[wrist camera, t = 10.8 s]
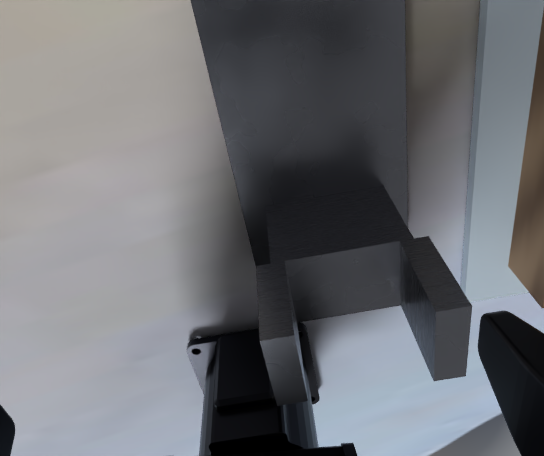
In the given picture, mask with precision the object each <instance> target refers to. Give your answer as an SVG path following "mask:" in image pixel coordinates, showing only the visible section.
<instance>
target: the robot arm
mask: <svg viewBox="0 0 544 456" xmlns="http://www.w3.org/2000/svg"><path fill="white" fill-rule="evenodd" d="M297 327H298V331H300V332H298V334H299V341H300V348H301V355H302V362H303V369H304V376H305V383H306V390H307V397H308V401H306V402H299V403H293V404H287V405H280V406H277V403H276V400H275V396H274V392H273V389H272V385H271V381H270V378H269V374H268V370H267V366H266V363H265V359H264V355H263V352H262V348H261V344H260V337H259V329H254V330H248V331H242V332H236V333H230V334H224V335H218V336H212V337H206V338H200V339H194V340H191V341H190V342H189V343H188V346H187V354H188V356H189V359H190V361H191V364H192V366H193V369H194V371H195V374H196V376H197V379H198V381H199V384H200V386H201V389H202V391H203V394H204V402H203V414H202V426H201V439H200V451H199V456H357V453H356V450H355V447H354V444H353V443H343V444H341V446H331V447H318V441H317V434H316V428H315V421H314V414H313V408H312V404H315V403H317V402H318V401H319V393H318V387H317V382H316V377H315V371H314V366H313V360H312V355H311V350H310V344H309V339H308V333H307V328H306V326H305V325H304V324H303V323H300V322H297ZM194 348H198V349H194ZM478 352H479V356H480V359H481V362H482V364H483V366H484V369H485V371H486V374H487V376H488V379H489V381H490V384H491V386H492V389H493V391H494V394H495V396H496V398H497V401H498V403H499V406H500V408H501V411H502V413H503V416H504V418H505V421H506V423H507V425H508V428H509V430H510V433H511V435H512V437H513V439H514V442H515V444H516V446H517V448H518V450H519V451H520V454H521V456H544V333H542V332H541V331H539V330H537V329H536V328H534V327H533V326H531V325H529V324H528V323H526V322H525V321H523V320H521V319H520V318H518V317H517V316H515V315H514V314H512V313H510V312H508V311H498V312H492V313H486V314H484V315H483V316H482V317H481V320H480V329H479V339H478ZM14 436H15V424H14V422H13V420H12V418H11V417H10V416H9V415H8V413H7V412H6V411H5V410H4V408H3V407H2V406H1V405H0V456H10V454H11V450H12V445H13V440H14Z"/></svg>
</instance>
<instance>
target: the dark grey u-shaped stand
mask: <svg viewBox="0 0 544 456" xmlns="http://www.w3.org/2000/svg"><path fill="white" fill-rule="evenodd" d="M191 4H192V8H193V12H194V16H195V20H196V24H197V28H198V32H199V36H200V40H201V44H202V48H203V53H204V57H205V61H206V65H207V69H208V73H209V77H210V81H211V85H212V89H213V93H214V97H215V101H216V105H217V110H218V114H219V118H220V122H221V126H222V130H223V134H224V138H225V142H226V146H227V150H228V154H229V158H230V163H231V167H232V171H233V175H234V179H235V183H236V187H237V191H238V195H239V199H240V203H241V207H242V211H243V215H244V220H245V224H246V228H247V232H248V236H249V240H250V244H251V248H252V252H253V256H254V260H255V264H256V268H257V291H258V314H259V337H260V344H261V348H262V352H263V355H264V359H265V363H266V366H267V370H268V374H269V378H270V381H271V385H272V389H273V392H274V396H275V400H276V403H277V406H280V405H287V404H293V403H299V402H306V401H308V397H307V390H306V383H305V376H304V369H303V362H302V355H301V348H300V341H299V334H298V327H297V322H303V321H309V320H315V319H321V318H327V317H333V316H339V315H345V314H351V313H357V312H363V311H369V310H375V309H381V308H387V307H393V306H399V305H401V306H402V309H403V311H404V313H405V316H406V318H407V320H408V323H409V325H410V327H411V330H412V332H413V334H414V337H415V339H416V341H417V343H418V346H419V348H420V350H421V353H422V355H423V357H424V360H425V362H426V364H427V367H428V369H429V371H430V374H431V376H432V378H433V380H434V381H438V380H444V379H450V378H457V377H463V376H466V368H467V356H468V345H469V334H470V323H471V312H472V305H471V304H470V302H469V300H468V299H467V297H466V296H465V294H464V292H463V291H462V289H461V288H460V286H459V284H458V283H457V281H456V280H455V278H454V276H453V275H452V273H451V271H450V270H449V268H448V267H447V265H446V263H445V262H444V260H443V259H442V257H441V255H440V254H439V252H438V251H437V249H436V247H435V246H434V244H433V243H432V241H431V239H430V238H429V236H427V237H421V238H415V239H414V238H413V236H412V235H411V233H410V231H409V229H408V202H407V123H406V45H405V0H191Z"/></svg>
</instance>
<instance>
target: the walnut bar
mask: <svg viewBox="0 0 544 456" xmlns="http://www.w3.org/2000/svg"><path fill="white" fill-rule="evenodd" d="M508 267H509V268H510V269H511V270H512V272H513V273H514V274H515V275H516V277H517V278H518V279H519V280H520V282H521V283H522V284H523V285H524V286H525V288H526V289H527V290H528V291H529V293H530V294H531V295H532V296H533V298H534V299H535V300H536V301H537V303H538V304H539V305H540V306H541V307H542V308H544V9H543V17H542V24H541V31H540V38H539V45H538V53H537V60H536V67H535V74H534V82H533V89H532V96H531V103H530V111H529V118H528V125H527V132H526V139H525V147H524V154H523V161H522V168H521V176H520V183H519V190H518V197H517V205H516V212H515V219H514V226H513V233H512V241H511V248H510V255H509V262H508Z"/></svg>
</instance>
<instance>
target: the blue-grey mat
mask: <svg viewBox="0 0 544 456" xmlns="http://www.w3.org/2000/svg"><path fill="white" fill-rule="evenodd" d="M543 9H544V0H480V13H479V28H478V42H477V57H476V71H475V85H474V100H473V114H472V129H471V143H470V158H469V172H468V186H467V201H466V215H465V230H464V244H463V259H462V273H461V287H460V288H461V289H462V291H463V292H464V294H465V296H466V297H467V299H468V300H469V302H470V303H471V302H477V301H483V300H489V299H495V298H501V297H507V296H513V295H519V294H525V293H529V291H528V290H527V289H526V288H525V286H524V285H523V284H522V283H521V282H520V280H519V279H518V278H517V277H516V275H515V274H514V273H513V272H512V270H511V269H510V268H509V267H508V262H509V255H510V248H511V241H512V233H513V226H514V219H515V212H516V205H517V197H518V190H519V183H520V176H521V168H522V161H523V154H524V147H525V139H526V132H527V125H528V118H529V111H530V103H531V96H532V89H533V82H534V74H535V67H536V60H537V53H538V45H539V38H540V31H541V24H542V17H543Z"/></svg>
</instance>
